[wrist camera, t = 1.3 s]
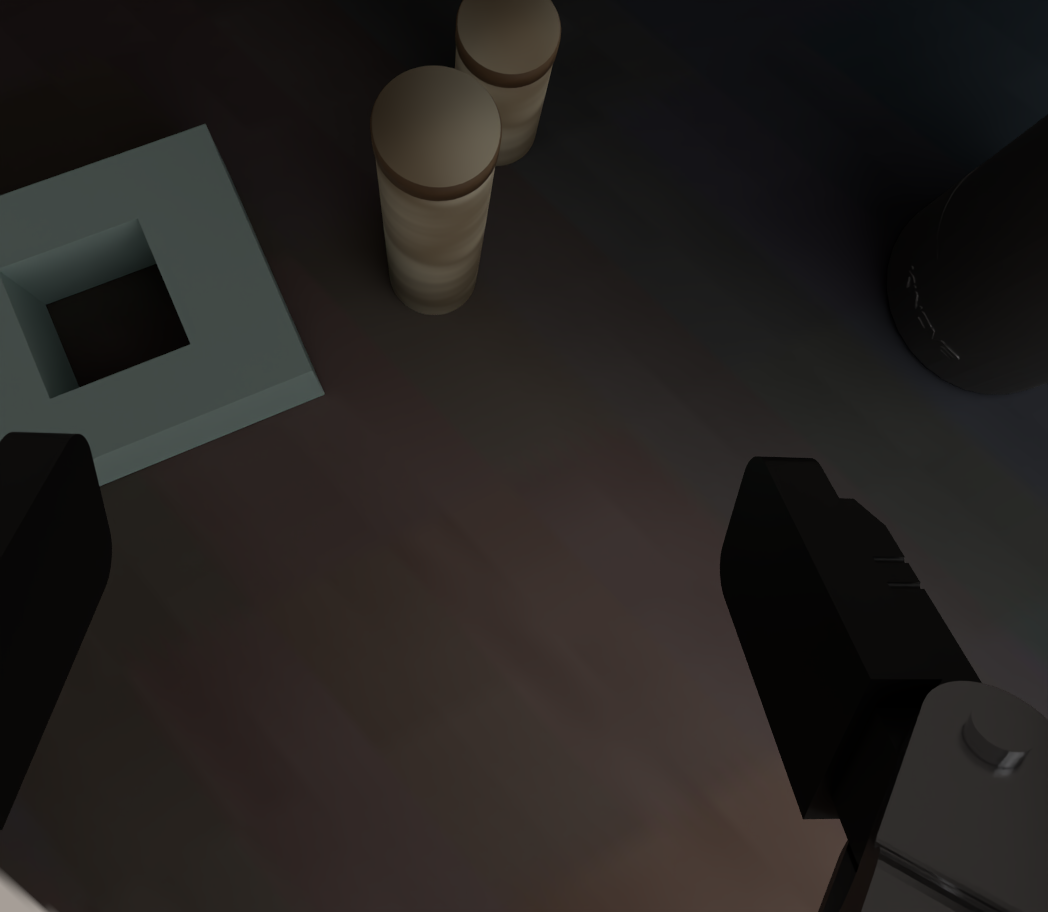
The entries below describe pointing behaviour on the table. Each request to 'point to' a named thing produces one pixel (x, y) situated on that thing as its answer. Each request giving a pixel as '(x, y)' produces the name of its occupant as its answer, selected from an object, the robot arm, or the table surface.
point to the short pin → (510, 62)
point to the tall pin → (434, 182)
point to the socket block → (194, 286)
